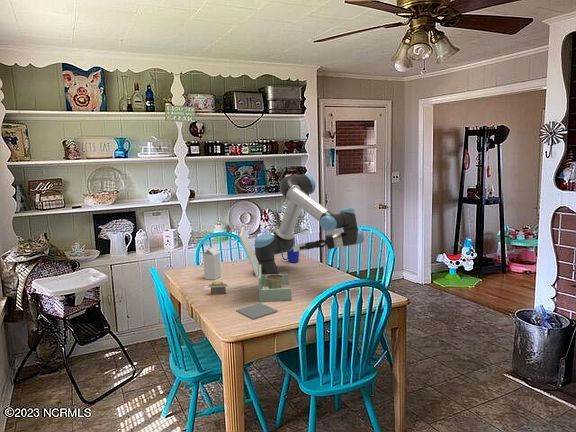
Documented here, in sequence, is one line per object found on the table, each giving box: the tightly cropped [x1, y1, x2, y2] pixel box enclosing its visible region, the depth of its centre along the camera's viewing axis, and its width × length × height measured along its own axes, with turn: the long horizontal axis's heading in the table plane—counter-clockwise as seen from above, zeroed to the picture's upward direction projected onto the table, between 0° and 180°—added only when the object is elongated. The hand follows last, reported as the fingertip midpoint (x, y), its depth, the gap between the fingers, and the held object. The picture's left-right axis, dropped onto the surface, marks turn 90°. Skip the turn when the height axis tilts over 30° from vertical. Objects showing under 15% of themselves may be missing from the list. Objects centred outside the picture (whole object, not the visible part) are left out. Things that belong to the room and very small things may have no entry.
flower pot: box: [266, 273, 284, 289], centre depth 234 cm, size 9×9×9 cm
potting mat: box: [235, 302, 279, 320], centre depth 208 cm, size 14×14×1 cm
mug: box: [281, 249, 300, 264], centre depth 294 cm, size 8×12×10 cm
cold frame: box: [257, 264, 293, 303], centre depth 233 cm, size 16×26×12 cm, turn 3°
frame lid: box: [239, 226, 259, 278], centre depth 230 cm, size 22×26×1 cm
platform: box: [207, 281, 228, 295], centre depth 235 cm, size 12×18×7 cm, turn 92°
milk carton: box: [202, 245, 222, 281], centre depth 262 cm, size 7×7×19 cm
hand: (294, 248), depth 234 cm, fingers open, 13 cm apart
